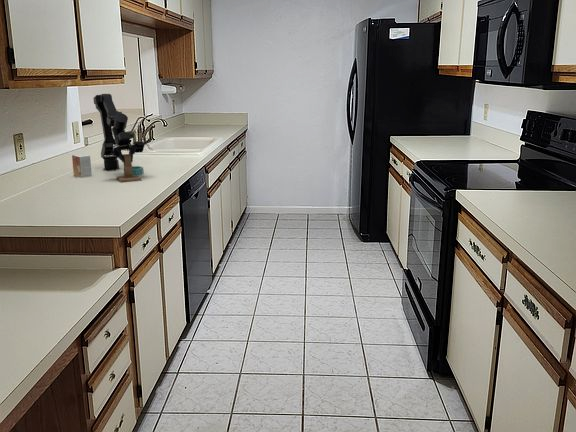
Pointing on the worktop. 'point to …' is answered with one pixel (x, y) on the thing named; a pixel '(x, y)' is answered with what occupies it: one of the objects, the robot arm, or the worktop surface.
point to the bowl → (137, 170)
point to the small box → (81, 165)
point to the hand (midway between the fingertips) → (128, 162)
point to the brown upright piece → (128, 171)
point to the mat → (130, 181)
